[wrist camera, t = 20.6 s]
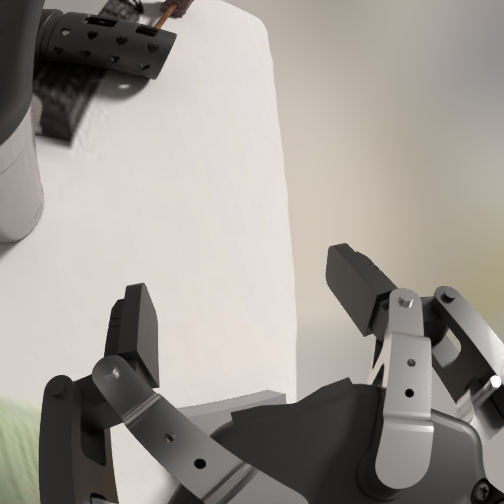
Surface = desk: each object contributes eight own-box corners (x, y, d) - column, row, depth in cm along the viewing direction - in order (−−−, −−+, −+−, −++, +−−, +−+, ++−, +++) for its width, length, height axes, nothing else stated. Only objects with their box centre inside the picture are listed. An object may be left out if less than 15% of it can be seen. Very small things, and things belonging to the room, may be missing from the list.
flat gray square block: (189, 483, 26) (217, 511, 20) (175, 408, 29) (202, 427, 23) (273, 456, 34) (309, 472, 28) (267, 390, 37) (306, 397, 30)
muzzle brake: (149, 95, 38) (172, 49, 30) (8, 73, 23) (9, 26, 15) (159, 64, 41) (181, 24, 33) (32, 43, 26) (39, 0, 17)
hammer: (191, 5, 49) (207, -19, 41) (145, 80, 44) (160, 49, 36) (169, -3, 46) (184, -28, 38) (116, 71, 41) (126, 38, 32)
